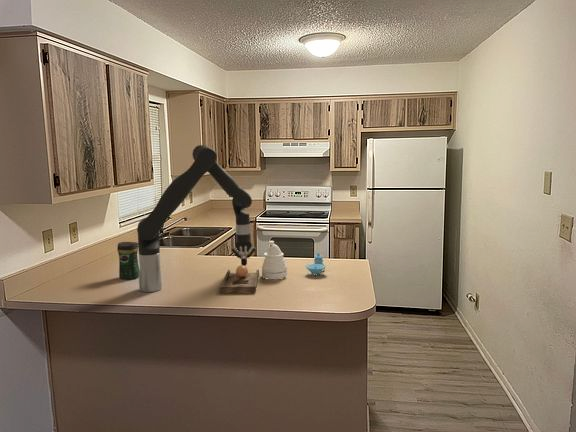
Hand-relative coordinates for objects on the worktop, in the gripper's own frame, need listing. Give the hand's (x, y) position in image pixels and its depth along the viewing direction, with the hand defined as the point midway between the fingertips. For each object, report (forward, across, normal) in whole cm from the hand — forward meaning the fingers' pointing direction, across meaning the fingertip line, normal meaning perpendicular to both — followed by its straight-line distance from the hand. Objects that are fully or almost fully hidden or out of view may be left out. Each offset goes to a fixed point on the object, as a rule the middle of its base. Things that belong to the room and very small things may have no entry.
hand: (244, 265), depth 226 cm
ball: (0, 0, -10) cm, 10 cm away
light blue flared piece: (+6, +38, +2) cm, 38 cm away
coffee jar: (+4, -58, -3) cm, 59 cm away
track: (+5, 0, -16) cm, 17 cm away
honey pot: (+5, +16, -4) cm, 17 cm away
